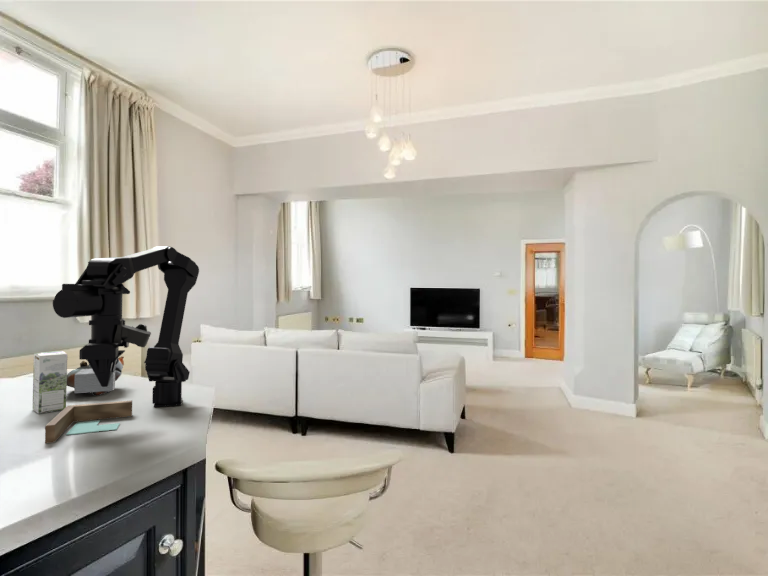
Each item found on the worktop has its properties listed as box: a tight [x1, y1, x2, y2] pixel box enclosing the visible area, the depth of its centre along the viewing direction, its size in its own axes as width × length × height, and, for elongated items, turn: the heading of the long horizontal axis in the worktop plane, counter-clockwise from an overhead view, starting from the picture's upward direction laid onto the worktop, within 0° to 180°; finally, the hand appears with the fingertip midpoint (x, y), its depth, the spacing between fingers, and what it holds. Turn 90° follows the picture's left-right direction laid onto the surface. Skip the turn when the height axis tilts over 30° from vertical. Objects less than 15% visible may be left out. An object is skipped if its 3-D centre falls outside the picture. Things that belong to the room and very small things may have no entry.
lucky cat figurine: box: [67, 355, 125, 397], centre depth 125 cm, size 15×12×14 cm
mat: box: [65, 419, 121, 436], centre depth 94 cm, size 9×8×1 cm
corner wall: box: [44, 399, 133, 444], centre depth 93 cm, size 13×16×4 cm
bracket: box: [73, 369, 116, 394], centre depth 94 cm, size 7×6×4 cm
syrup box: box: [32, 350, 69, 414], centre depth 106 cm, size 6×6×14 cm
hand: (106, 385), depth 93 cm, fingers closed on bracket, 2 cm apart
